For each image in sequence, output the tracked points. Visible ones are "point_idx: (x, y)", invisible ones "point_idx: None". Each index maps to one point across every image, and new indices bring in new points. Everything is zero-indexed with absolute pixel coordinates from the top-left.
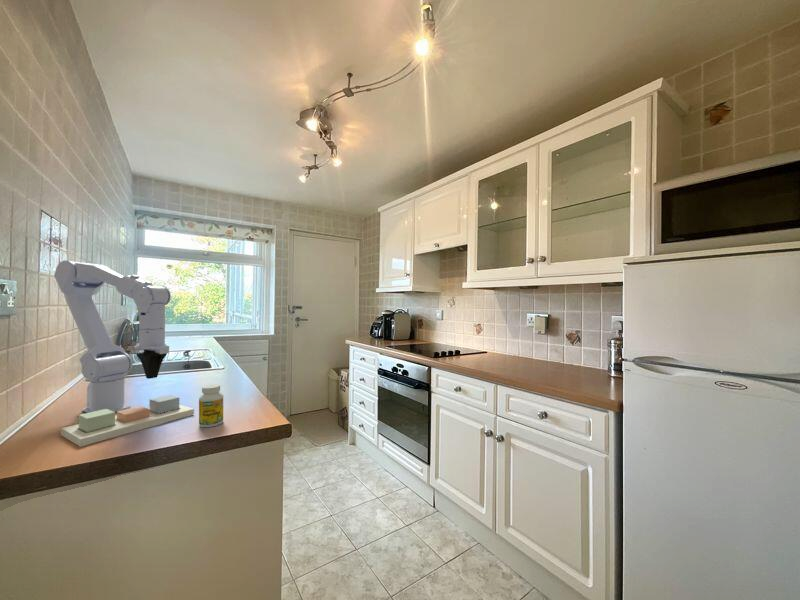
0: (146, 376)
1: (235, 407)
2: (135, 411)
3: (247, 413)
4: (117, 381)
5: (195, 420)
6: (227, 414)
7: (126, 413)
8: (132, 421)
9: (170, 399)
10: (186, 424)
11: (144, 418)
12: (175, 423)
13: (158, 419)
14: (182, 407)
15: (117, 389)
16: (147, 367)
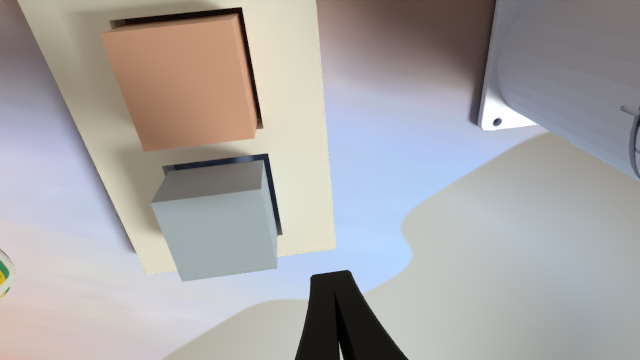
0: (338, 280)
1: (143, 352)
2: (144, 91)
3: (34, 355)
4: (618, 136)
5: (64, 241)
6: (68, 320)
7: (131, 46)
8: None
9: (169, 249)
10: (27, 209)
11: None
12: (73, 187)
13: (92, 150)
14: None
15: (571, 114)
16: (297, 358)
